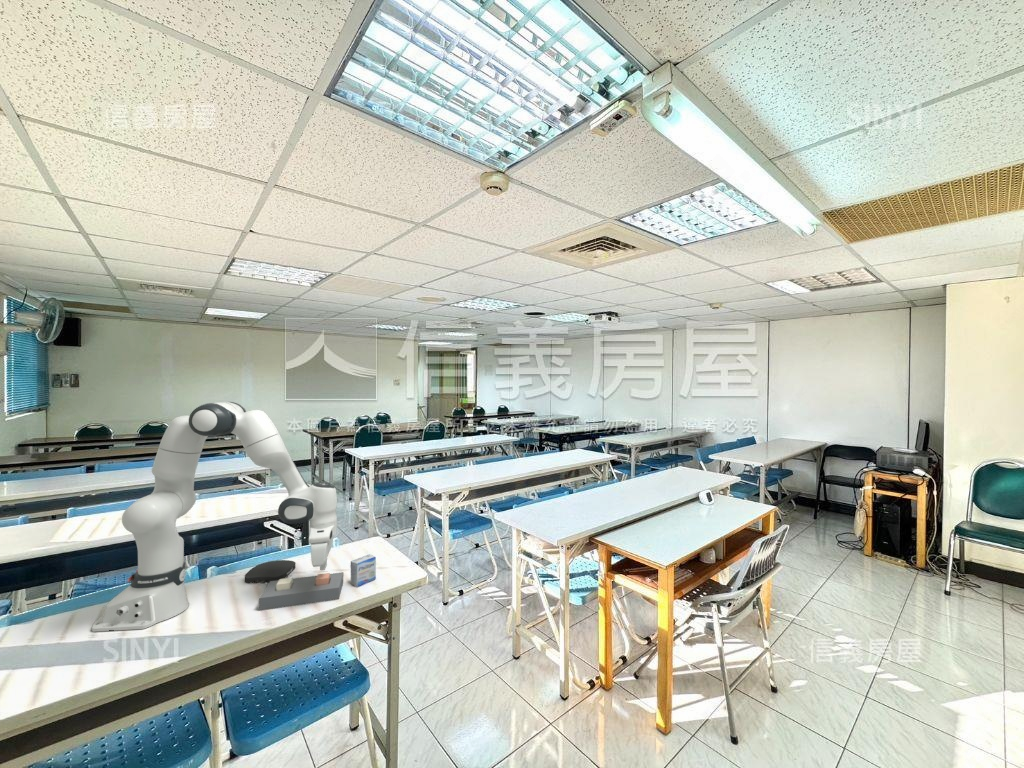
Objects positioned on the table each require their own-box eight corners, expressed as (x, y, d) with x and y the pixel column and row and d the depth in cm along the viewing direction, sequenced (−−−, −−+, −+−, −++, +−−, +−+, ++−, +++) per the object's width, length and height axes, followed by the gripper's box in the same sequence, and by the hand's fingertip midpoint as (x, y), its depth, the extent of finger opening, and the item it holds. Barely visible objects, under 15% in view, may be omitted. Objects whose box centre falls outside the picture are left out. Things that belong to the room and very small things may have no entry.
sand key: (276, 593, 132) (276, 584, 132) (279, 587, 136) (279, 579, 136) (289, 591, 133) (289, 582, 133) (292, 586, 137) (292, 577, 137)
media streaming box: (261, 567, 160) (261, 560, 160) (299, 566, 161) (299, 558, 161) (239, 585, 145) (239, 576, 145) (280, 583, 146) (280, 575, 146)
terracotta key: (315, 588, 136) (315, 579, 136) (317, 582, 139) (317, 574, 140) (328, 586, 137) (328, 577, 137) (329, 581, 141) (330, 572, 141)
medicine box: (356, 587, 142) (357, 563, 142) (350, 584, 145) (350, 560, 145) (376, 579, 148) (376, 556, 149) (369, 576, 151) (369, 553, 151)
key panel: (258, 610, 127) (258, 598, 127) (270, 592, 139) (270, 581, 139) (338, 599, 134) (339, 587, 134) (343, 583, 146) (343, 572, 146)
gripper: (319, 520, 148) (318, 557, 147) (307, 540, 128) (307, 583, 128) (337, 519, 149) (337, 555, 149) (328, 538, 130) (328, 580, 130)
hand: (323, 568), depth 138 cm, fingers closed
